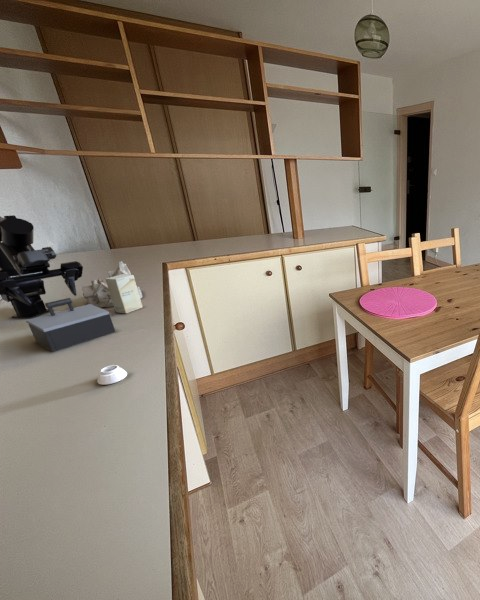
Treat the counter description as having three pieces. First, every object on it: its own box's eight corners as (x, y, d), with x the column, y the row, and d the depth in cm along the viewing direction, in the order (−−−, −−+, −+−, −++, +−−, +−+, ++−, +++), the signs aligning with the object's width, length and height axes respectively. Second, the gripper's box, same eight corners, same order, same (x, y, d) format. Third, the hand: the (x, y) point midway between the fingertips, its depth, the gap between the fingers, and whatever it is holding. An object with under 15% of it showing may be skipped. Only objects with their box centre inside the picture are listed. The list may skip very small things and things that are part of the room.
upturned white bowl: (129, 378, 72) (124, 370, 75) (126, 368, 71) (120, 360, 74) (101, 389, 68) (96, 380, 71) (96, 377, 67) (92, 369, 70)
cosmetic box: (126, 314, 105) (115, 279, 101) (115, 312, 106) (104, 278, 102) (143, 307, 111) (134, 274, 107) (133, 306, 112) (123, 273, 107)
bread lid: (26, 322, 85) (19, 307, 83) (90, 306, 96) (85, 292, 94) (44, 332, 80) (37, 315, 78) (109, 313, 91) (104, 299, 90)
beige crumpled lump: (144, 289, 127) (131, 253, 121) (141, 303, 115) (125, 264, 109) (94, 298, 120) (77, 260, 113) (84, 314, 107) (64, 273, 101)
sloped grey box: (36, 342, 86) (28, 323, 84) (98, 324, 98) (92, 307, 96) (52, 352, 82) (44, 332, 80) (115, 331, 93) (109, 314, 91)
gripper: (-32, 244, 77) (3, 293, 77) (68, 234, 93) (98, 275, 92) (-27, 270, 84) (5, 316, 83) (66, 257, 99) (94, 295, 98)
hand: (54, 299), depth 89 cm, fingers open, 9 cm apart
